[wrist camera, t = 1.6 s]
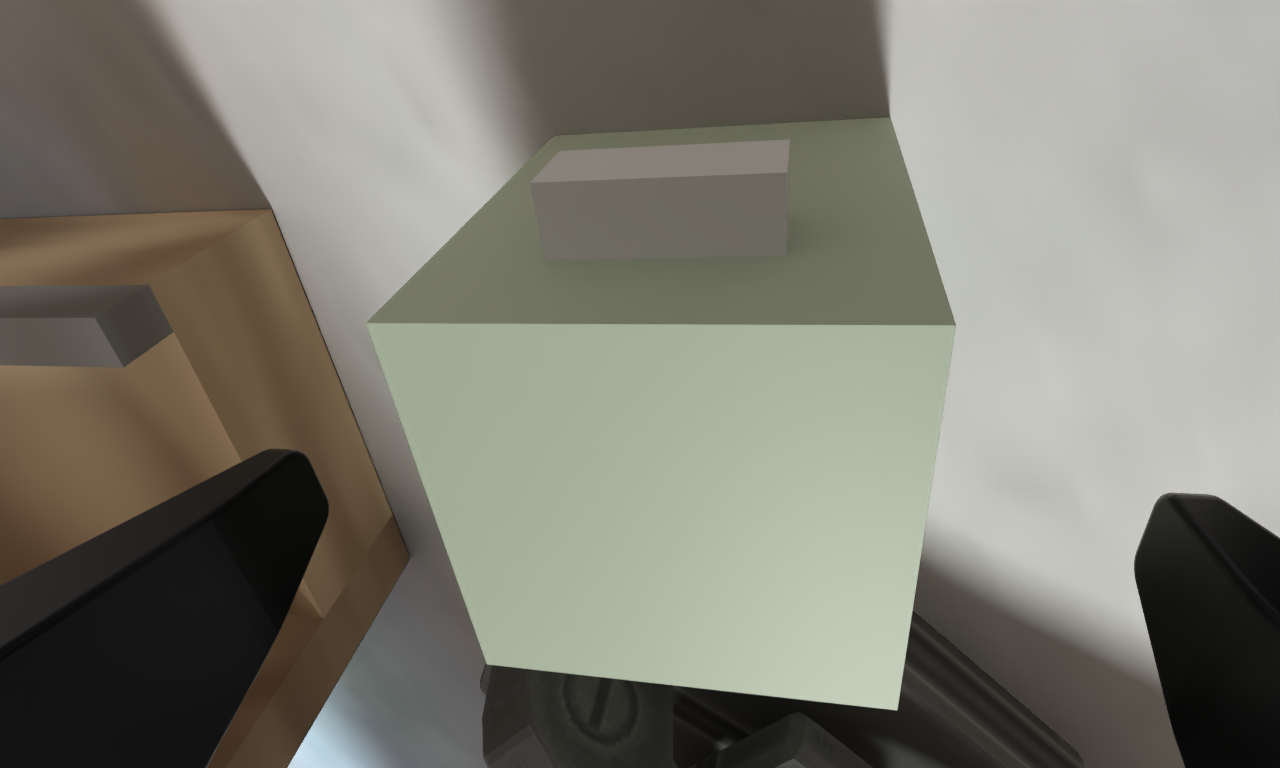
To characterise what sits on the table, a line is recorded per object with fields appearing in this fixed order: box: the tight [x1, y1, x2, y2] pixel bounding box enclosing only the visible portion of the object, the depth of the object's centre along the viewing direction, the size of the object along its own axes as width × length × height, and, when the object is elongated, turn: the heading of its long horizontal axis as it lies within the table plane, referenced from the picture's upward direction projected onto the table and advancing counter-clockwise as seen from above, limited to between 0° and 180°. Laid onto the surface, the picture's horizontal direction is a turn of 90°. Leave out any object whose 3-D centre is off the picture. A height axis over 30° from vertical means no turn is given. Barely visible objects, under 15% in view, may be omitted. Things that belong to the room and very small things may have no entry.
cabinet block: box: [366, 117, 956, 710], centre depth 10 cm, size 5×6×6 cm
